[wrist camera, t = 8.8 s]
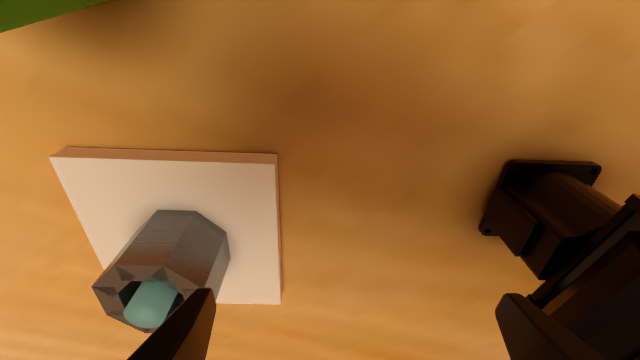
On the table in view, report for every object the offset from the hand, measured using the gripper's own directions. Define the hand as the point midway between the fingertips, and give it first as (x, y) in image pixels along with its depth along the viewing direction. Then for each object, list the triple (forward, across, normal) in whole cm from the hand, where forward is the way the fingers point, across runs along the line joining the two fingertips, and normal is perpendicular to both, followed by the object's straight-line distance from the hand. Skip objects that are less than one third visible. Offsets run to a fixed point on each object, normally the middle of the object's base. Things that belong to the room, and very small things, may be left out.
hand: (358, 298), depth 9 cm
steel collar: (+10, +11, +8) cm, 17 cm away
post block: (+12, +11, +8) cm, 18 cm away
